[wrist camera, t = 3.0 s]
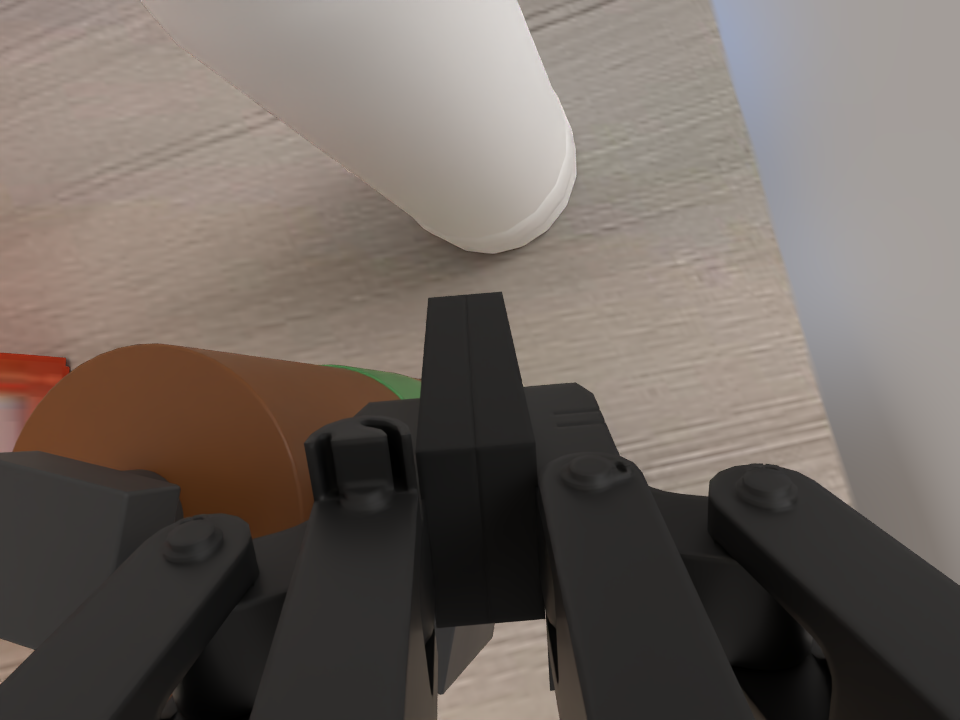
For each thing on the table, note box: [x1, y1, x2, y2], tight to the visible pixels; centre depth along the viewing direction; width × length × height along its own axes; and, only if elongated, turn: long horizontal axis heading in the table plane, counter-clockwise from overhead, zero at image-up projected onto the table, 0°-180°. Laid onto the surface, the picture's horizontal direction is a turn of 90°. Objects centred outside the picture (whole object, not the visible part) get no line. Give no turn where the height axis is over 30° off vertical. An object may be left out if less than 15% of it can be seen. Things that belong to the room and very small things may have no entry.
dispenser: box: [0, 344, 421, 702], centre depth 25 cm, size 10×9×22 cm
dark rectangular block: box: [434, 617, 495, 694], centre depth 21 cm, size 1×6×5 cm, turn 169°
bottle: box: [140, 0, 577, 254], centre depth 21 cm, size 8×8×30 cm
